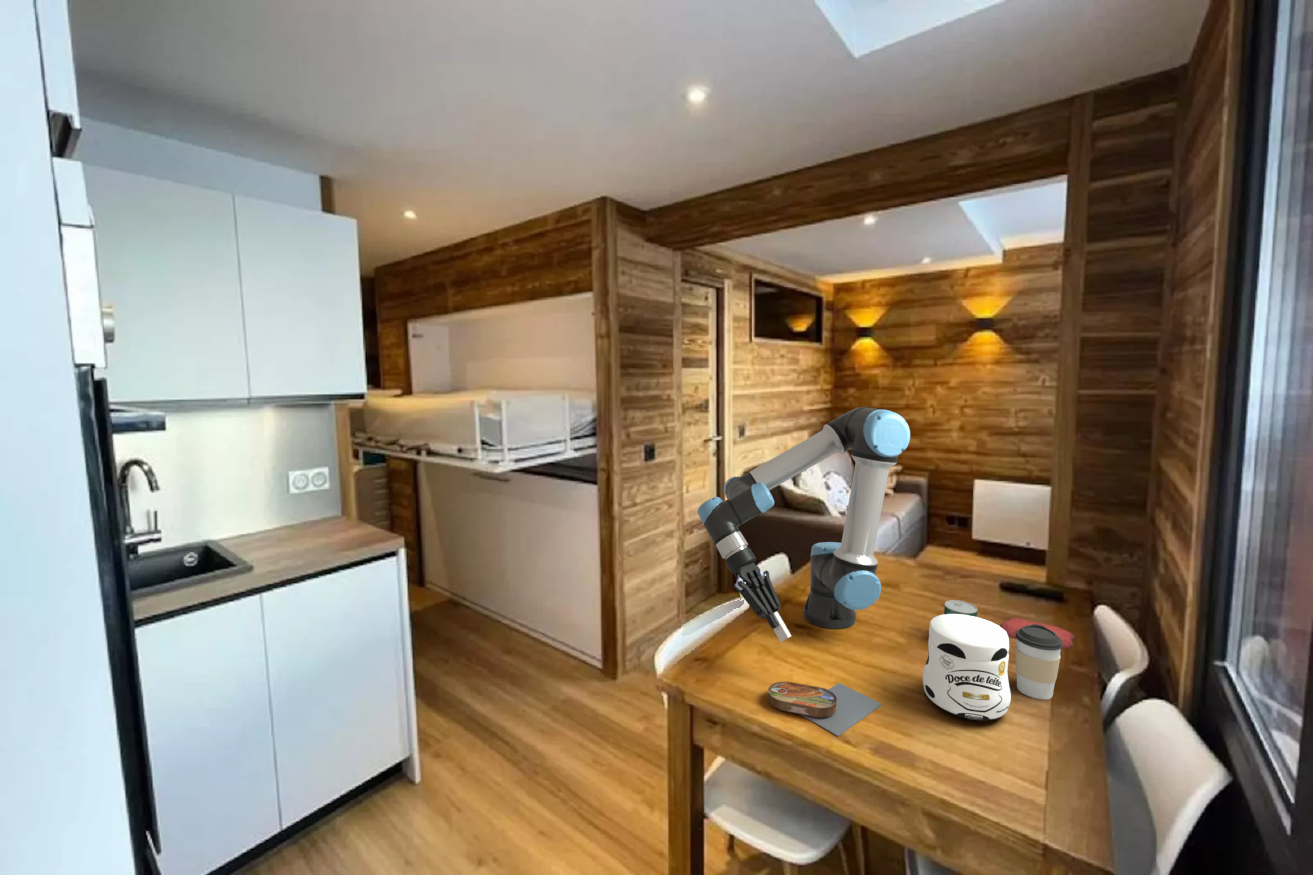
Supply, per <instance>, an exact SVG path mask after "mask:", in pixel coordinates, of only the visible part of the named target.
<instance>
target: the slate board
mask: <svg viewBox="0 0 1313 875" xmlns="http://www.w3.org/2000/svg"><path fill="white" fill-rule="evenodd" d="M827 690H830V691H831V692H833V693H834V694H835V696H836V697H837V702H836V706H837V707H836V711H835V713H834V714H833V715H832V716H829V717H825V718H816V717H811V716H806V715H801V714H799V715H800V716H802V717H804V718H805V719H807V720H808V721H810V722H812V723H814V724H816V725H818V726H819V727H821V728H822V729H824V730H826V731H827V732H829V733H831V734H833V735H835V736H836V737H839V736H841V735H842V734H843V733H845V732H847V731H848V730H849V729H851V728H852V727H853V726H854V725H856V724H858V723H859V722H861V721H862V720H864V718H866V717H867V716H869V715H870V714H872V713H874V711H876V710H877V709H879V708H880V707H881V706H883V703H881V702H879V701H878V700H875V699H873V698H871V697H869V696H867V695H865V694H863V693H861V692H859V691H856V690H855V689H852V688H851V687H849V686H847V685H845V684H843V683H841V682H838V683H837V684H835V685H833V686H832V687H830V688H828V689H827Z"/></svg>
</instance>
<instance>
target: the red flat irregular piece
mask: <svg viewBox="0 0 1313 875" xmlns="http://www.w3.org/2000/svg"><path fill="white" fill-rule="evenodd" d="M1032 624H1037V625H1042V626H1044V627H1046V628H1047V629H1049V630H1051V631H1053V632H1055V633H1056V634H1057V636H1058V637H1059V638H1060V639H1061V640H1062V645H1063V647H1062V648H1061V649H1070V648H1072V647H1073V646H1074V643H1073V640H1075V635H1074V634H1073V633H1072V632H1070V631H1069V630H1066V629H1063V628H1061V627H1058V626H1056V625H1050V624H1046V623H1043V622H1037V621H1036V622H1034V621H1029V620H1026V619H1023V618H1020V617H1010V618H1008V619H1007V620H1005V621H1003V622H1001V623H1000V625H999V626H1000V627H1001V628H1002V629H1004V630H1005V631H1006V633H1007V635H1008V638H1011V639H1016V637H1015V635H1016V631H1017V630H1018V629H1021V628H1022V627H1023V626H1028V625H1032Z"/></svg>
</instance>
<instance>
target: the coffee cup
mask: <svg viewBox="0 0 1313 875" xmlns="http://www.w3.org/2000/svg"><path fill="white" fill-rule="evenodd" d="M1015 637H1016V644H1015V671H1016V688H1017V690H1018V691H1019V692H1020V693H1022V694H1024V695H1026V696H1027V697H1030V698H1033V699H1036V700H1050V699H1052V698H1053V695H1054V690H1055V684H1056V681H1057V678H1058V673H1059V666H1060V662H1061V651H1062V649H1063V648H1062V647H1063V645H1062V640H1061V639H1060V638H1059V637H1058V636H1057V634H1056V633H1055V632H1053V631H1051V630H1049V629H1047V628H1046V627H1044V626H1042V625H1037V624H1032V625H1028V626H1023V627H1022V628H1021V629H1018V630H1017V631H1016V635H1015Z"/></svg>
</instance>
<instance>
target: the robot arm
mask: <svg viewBox="0 0 1313 875" xmlns="http://www.w3.org/2000/svg"><path fill="white" fill-rule="evenodd" d="M910 440H911V430H910V427H909V425H908V422H907V421H906V419H905V418H904V417H903V416H901V415H900V414H899V413H896V412H894V411H892V410H889V409H888V410H887V409H879V408H874V407H868V406H862V407H856V408H853V409H852V410H849V411H847V412H845V413H844V414H843V413H842V414H841V415H840V416H838V417H836V418H835V419H833V420H830V422H827V423H825V424H824V425H823V428H822V430H820V431H819V432H817V433H815V434H814V435H812V436H810V437H808V438H807V439H805V440H802V441H801V442H799V443H798V444H796V445H794V446H791V448H789V449H787V450H785V451H784V452H782V453H780V454H778V455H777V456H775V457H773V458H771V459H770V460H768V461H766V462H764V463H762V464H761V465H759V466H757V467H755V468H754V469H752V470H750V471H748V472H746V473H744V474H742V475H741V476H732V477H730V478H728V479H727V480H726V482H725V484H724V486H723V492H724V495H725V497H726V500H723V499H722V498H721V497H719V496H715V497H712V498H709V499H707V500H705V501H704V502H703V503H701V504H700V505H699V506H698V509H697V515H698V517H699V518H700V520H701V522H702V524H703V525H702V526H704V528H705V530H706V531H707V533H708V535H709V537H710V538H711V540H712V542H713V543H714V545H715V547H716V549H717V550H718V552H719V554H720V556H721V558H722V559H723V560H725V561H724V564H725V565H726V567H727V569H728V570H729V572H730V573H731V574H734V576H735V579H736V583H735V584H734V585H733V586H732V587H733V589H734V590H736V591H737V592H738V593H739V594H740V595H741V596H742V598H743V600H744V601H746V604H748V605H749V607H750V608H751V609H752V611H753V613H754V614H755V615H756V616H757V617H758V618H761V619H762V620H763V619H766V621H767V623H768V624H769V626H770V628H771V629H772V630H773V631H774V633H775V635H776V637H777V639H778V640H779V642H780V643H781V642H782V643H783V642H784V641H786V640H787V639H789V638H791V637H792V635H791V633H790V630H789V629H788V628H787V625H786V624H785V621H784V619H783V618H782V616H781V614H780V613H779V611H780V610H781V606H782V605H781V601H780V600H779V597H778V595H777V591H776V590H775V587H774V585H773V582H772V580H771V577H770V572H769V570H767V569H766V570H765V571H763V570H761V569H760V567H759V566H758V565H757V564H756V560H757V557H756V556H755V554H754V552H753V550H752V549H751V548H750V547H748V545H749V543H748V542H747V540H746V539H745V536H744V535H743V534H742V532H741V531H740V529H739V527H740V526H741V525H743V524H745V523H747V522H749V521H750V520H753V519H754V518H756V517H757V516H760V515H762V514H764V513H766V512H767V511H768V510H770V509H771V508H772V507H774V506H775V500H774V497H773V495H772V493H771V490H773V489H775V488H777V487H778V486H780V485H781V484H783V483H786V482H787V481H789V480H790V479H793V478H794V477H796V476H797V475H799V474H802V473H803V472H804V471H807V470H809V469H810V468H811V467H813V466H815V465H817V464H819V463H821V462H823V461H824V460H826V459H828V458H829V457H831V456H834V455H835V454H840V455H841V454H844V453H846V452H847V451H849V450H851V454H850V456H851V457H852V459H853V461H854V463H855V466H854V471H853V476H852V482H851V488H850V493H849V498H848V504H847V508H846V514H845V520H844V526H843V533H842V538H841V542H836V541H825V542H816V543H814V544H813V545H812V546H811V552H810V577H809V578H810V579H809V580H810V588H809V593H808V596H807V598H806V600H805V603H804V607H803V617H804V618H805V620H806V621H807V622H809V623H811V624H812V625H815V626H818V627H820V628H826V629H835V630H837V629H846V628H847V629H848V628H850V627H852V626H854V625H855V624H856V623H857V613H856V612H857V611H861V610H866V609H868V608H869V607H870V606H872V605H874V604H875V603H876V602H877V601H878V599H879V598H880V595H881V593H882V583H881V581H880V579H879V577H878V576H877V575H876V574H877V570H878V564H879V561H878V559H877V557H876V556H875V555H874V553H875V552H874V551H875V547H876V542H877V535H878V530H879V527H880V526H879V524H880V521H881V514H882V509H883V504H884V499H885V494H886V488H887V483H888V477H889V474H890V470H891V468H892V467H894V466H895V465H897V463H898V460H899V459H898V458H899V455H901V454H902V452H904V451H905V450H906V449H907V448H908V446H909V444H910Z"/></svg>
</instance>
